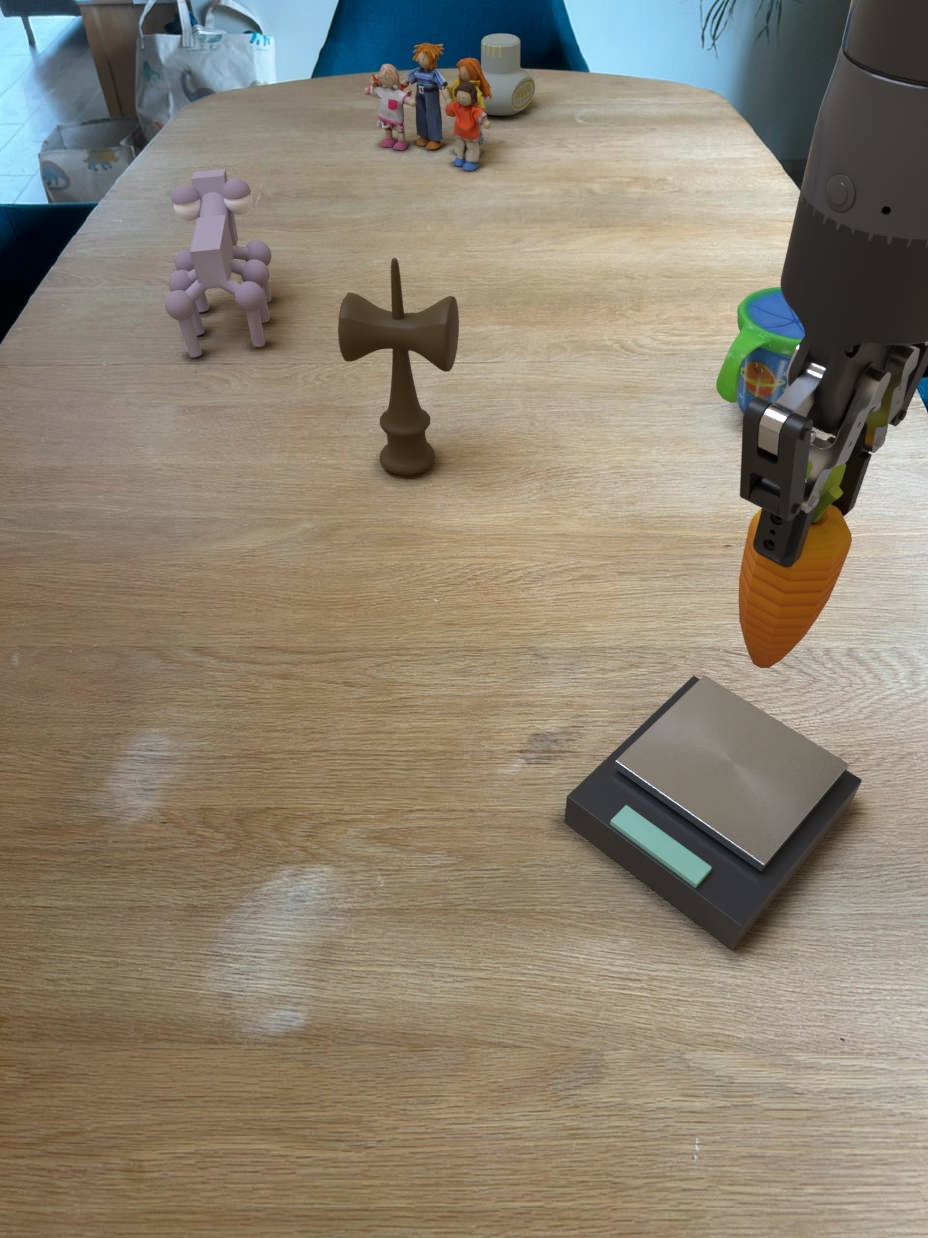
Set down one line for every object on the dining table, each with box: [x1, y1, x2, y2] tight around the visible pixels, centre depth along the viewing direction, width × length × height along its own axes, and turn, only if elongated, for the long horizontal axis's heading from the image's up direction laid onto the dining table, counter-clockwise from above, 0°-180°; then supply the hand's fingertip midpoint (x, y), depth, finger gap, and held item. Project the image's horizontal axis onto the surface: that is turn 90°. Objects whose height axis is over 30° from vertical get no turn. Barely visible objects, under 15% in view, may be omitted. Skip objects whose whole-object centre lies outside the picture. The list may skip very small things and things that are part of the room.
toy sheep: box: [164, 168, 272, 358], centre depth 108 cm, size 20×11×14 cm, turn 5°
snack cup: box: [715, 286, 805, 413], centre depth 95 cm, size 16×10×10 cm
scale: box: [563, 675, 863, 951], centre depth 65 cm, size 14×13×4 cm
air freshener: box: [480, 33, 536, 117], centre depth 153 cm, size 11×8×10 cm
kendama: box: [337, 257, 460, 476], centre depth 86 cm, size 6×10×20 cm, turn 81°
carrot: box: [738, 460, 853, 669], centre depth 52 cm, size 5×5×15 cm
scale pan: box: [614, 675, 850, 872], centre depth 64 cm, size 10×11×1 cm
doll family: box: [363, 42, 493, 172], centre depth 141 cm, size 21×10×13 cm, turn 55°
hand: (803, 529), depth 50 cm, fingers closed on carrot, 4 cm apart
